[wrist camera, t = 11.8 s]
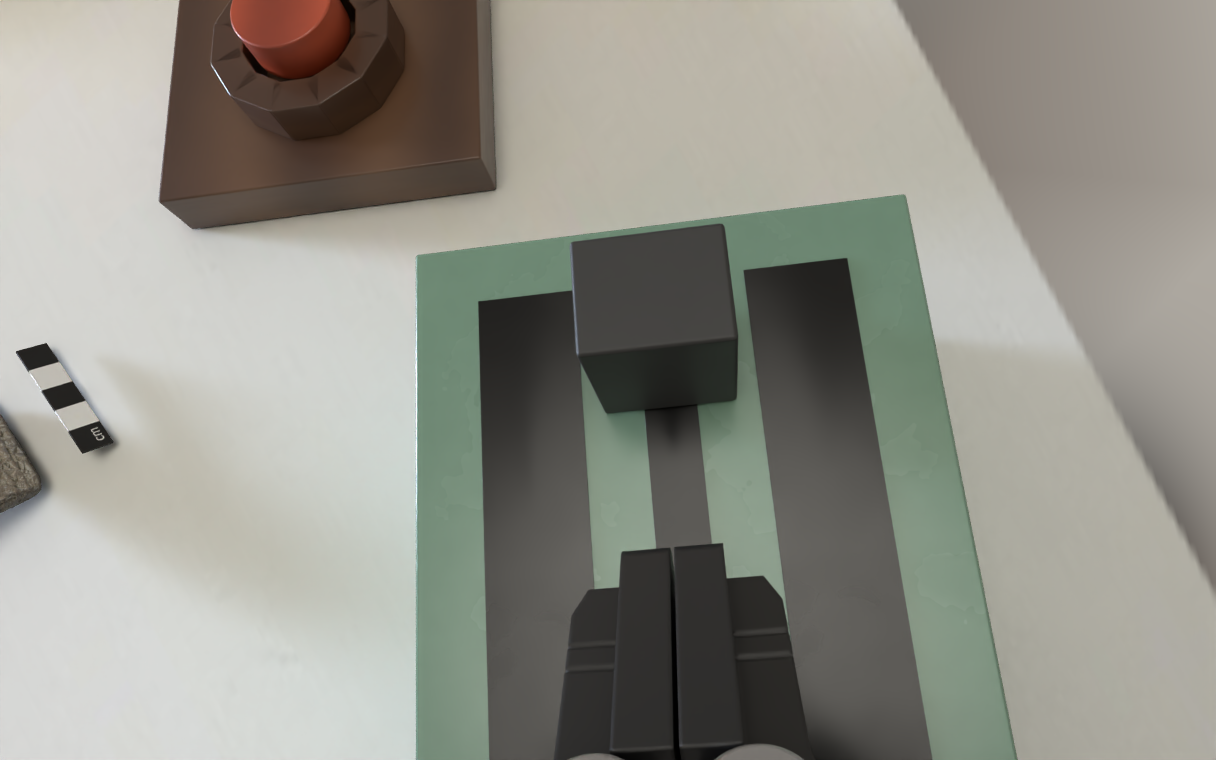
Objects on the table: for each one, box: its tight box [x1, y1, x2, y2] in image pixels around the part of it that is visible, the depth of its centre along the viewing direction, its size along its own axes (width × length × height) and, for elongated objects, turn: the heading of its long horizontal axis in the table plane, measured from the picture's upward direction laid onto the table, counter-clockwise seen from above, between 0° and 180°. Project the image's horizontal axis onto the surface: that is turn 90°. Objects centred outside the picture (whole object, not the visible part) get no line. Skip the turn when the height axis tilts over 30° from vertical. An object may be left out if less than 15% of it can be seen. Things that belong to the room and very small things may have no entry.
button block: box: [159, 0, 496, 229], centre depth 33 cm, size 12×10×4 cm
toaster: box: [416, 195, 1017, 760], centre depth 24 cm, size 12×14×9 cm
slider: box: [570, 223, 738, 413], centre depth 18 cm, size 3×2×4 cm
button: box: [230, 0, 351, 79], centre depth 31 cm, size 4×4×2 cm
